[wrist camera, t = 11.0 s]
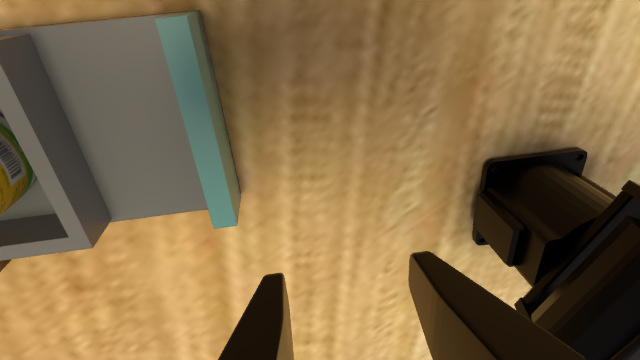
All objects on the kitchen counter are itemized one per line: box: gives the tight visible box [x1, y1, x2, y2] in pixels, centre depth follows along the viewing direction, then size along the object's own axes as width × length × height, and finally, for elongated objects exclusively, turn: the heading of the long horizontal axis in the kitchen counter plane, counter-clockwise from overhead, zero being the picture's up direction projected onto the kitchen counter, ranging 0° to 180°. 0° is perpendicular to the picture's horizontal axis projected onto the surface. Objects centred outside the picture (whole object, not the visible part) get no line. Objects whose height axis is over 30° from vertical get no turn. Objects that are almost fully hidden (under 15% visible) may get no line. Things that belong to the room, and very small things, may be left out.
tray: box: [0, 10, 241, 261], centre depth 17 cm, size 17×10×4 cm, turn 95°
